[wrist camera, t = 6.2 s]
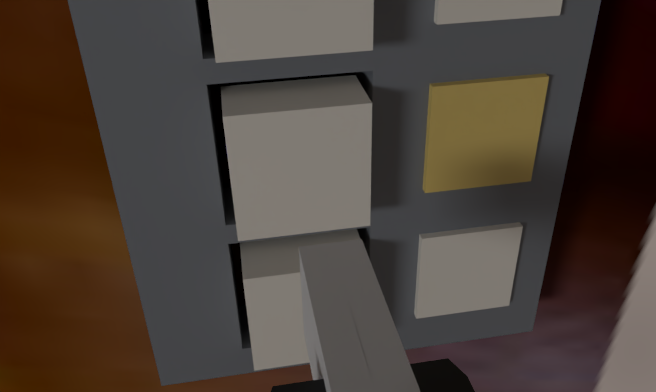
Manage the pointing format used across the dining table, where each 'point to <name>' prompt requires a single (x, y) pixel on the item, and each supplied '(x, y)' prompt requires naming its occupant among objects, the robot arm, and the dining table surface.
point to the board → (386, 163)
